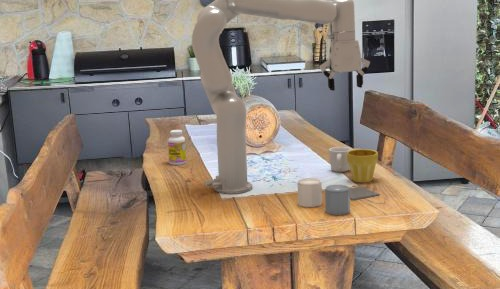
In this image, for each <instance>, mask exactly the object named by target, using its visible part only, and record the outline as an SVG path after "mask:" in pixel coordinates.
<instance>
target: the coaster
mask: <svg viewBox="0 0 500 289" xmlns="http://www.w3.org/2000/svg"><path fill="white" fill-rule="evenodd" d="M349 189H350V201H357V200H361V199H362V200H363V199H367V198H374V197H378V196H380V193H378V192H375V191H373V190H371V189H369V188H366V187H363V186H357V187H351V188H349Z"/></svg>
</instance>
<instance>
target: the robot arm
mask: <svg viewBox="0 0 500 289" xmlns="http://www.w3.org/2000/svg"><path fill="white" fill-rule="evenodd" d="M240 14H241V15H243V14H244V15H249V16H255V17H256V16H257V17H264V18H270V19H275V20H276V19H277V20H286V21H287V20H294V21H300V22H301V21H302V22H306V23H307V22H309V23H313V24H322V25H328V24H330V23H331V33H330V34H328V35H327V38H328V40H331V42H330V44H329V51H328V52H329V53H328V54H329V55H328V60H326V61H325V62H323V63H322V64H320V65H319V69H320V71H321V72H322V73H321V74H323V75H324V76H325V77H326V79H327V87H328V89H329V90H330V91H335V90H336V88H335V79H334V76H335V75H336V73H337V74H338V73H350V72H356V87H357V88H360V89H361V88H363V86H364V75H365V73H366V72H367V71H368V69H369V66H370V64H371V61H370V60H367V59H366V58H363V57H362V53H361V48H360V44H359V40H357V39H356V21H355V17H356V16H355V2H354V0H213V1H212V2H210V3H209V4H207V5H206V6H204V7H203V8H202V9H201V10H200V11H199V12H198V14H197V18H196V23H195V25H194V27H193V30H192V34H191V47H192V50H193V54H194V56H195V59H196V62H197V65H198V68H199V70H200V75H199V76H200V82H201V84H202V87H203V89H204V92H205V94H206V97H207V100H208V102H209V105H210V107H211V109H212V111H213V113H214V115H215V117H216V146H217V169H218V172H217V173H218V175H216V176H215V178H214V179H212V180H211V179H210V180H205V181H204V185H205V187H212V188H214V190H215V191H216V192H217V193H220V194H230V195H231V194H243V193H246V192H249V191H251V190H252V189H253V184H252V183H251V182H249V181H248V163H247V162H248V160H247V138H246V137H247V135H246V132H247V131H246V130H247V128H246V125H247V124H246V123H247V108H246V105H245V103H244V101H243V99H242V98H240V97H239V96H238V95H237V93H236V90H235V86H234V84H233V83H232V82H233V76H232V72H231V71H230V69H229V66H228V65H227V62H226V59H225V57H224V55H223V51H222V48H221V47H220V40H219V39H220V35H221V33H222V32H223V31H224V29H225V28H226V25H227V24H228V23H230V22H231V21H233V19H235V18H236V17H237V16H239V15H240ZM362 64H363V65H362ZM327 67H329V71H327V70H326V68H327Z"/></svg>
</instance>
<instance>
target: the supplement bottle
mask: <svg viewBox="0 0 500 289" xmlns="http://www.w3.org/2000/svg"><path fill="white" fill-rule="evenodd" d="M169 134H170V137H169V138H168V139H167V143H168V145H167V146H168V147H167V148H168V162H169V164H170V165H173V166H181V165H185V164H186V163H187V151H186V150H187V147H186V138H185V137H184V136H183V130H182V129H172V130H170V132H169Z"/></svg>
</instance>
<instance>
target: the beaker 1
mask: <svg viewBox="0 0 500 289" xmlns="http://www.w3.org/2000/svg"><path fill="white" fill-rule="evenodd" d="M322 183H323V182H322V181H321V179H319V178H314V177H306V178H301V179H298V182H297V204H298V205H299V206H301V207H303V208H305V207H306V208H315V207H320V206H321V205H322V203H323V200H322V199H323V196H322V195H323V193H322V192H323V191H322V189H323V188H322Z"/></svg>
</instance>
